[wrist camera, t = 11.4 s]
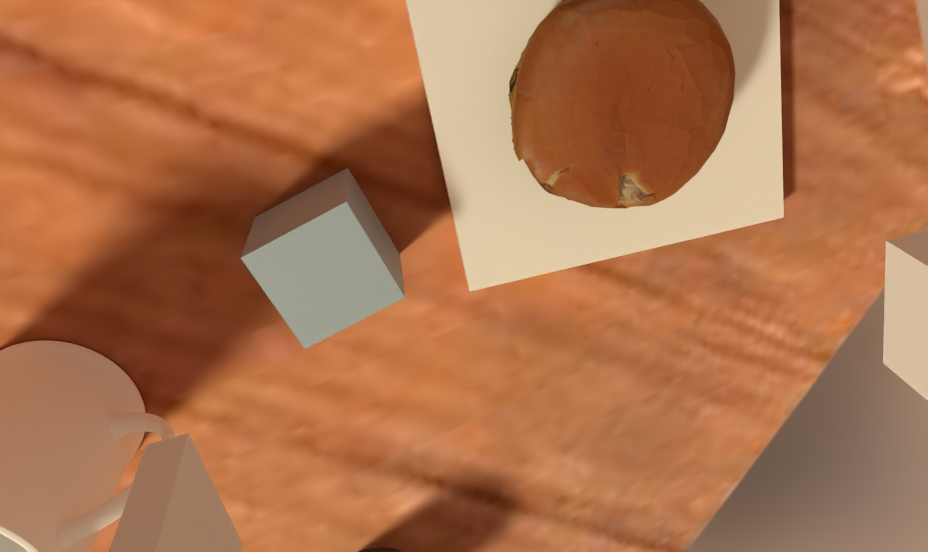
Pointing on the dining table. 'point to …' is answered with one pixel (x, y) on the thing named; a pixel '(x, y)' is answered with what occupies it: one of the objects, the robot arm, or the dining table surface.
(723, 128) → the burger
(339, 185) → the slate block
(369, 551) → the grey tin
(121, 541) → the robot arm
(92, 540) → the mug
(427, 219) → the dining table surface
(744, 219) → the board
